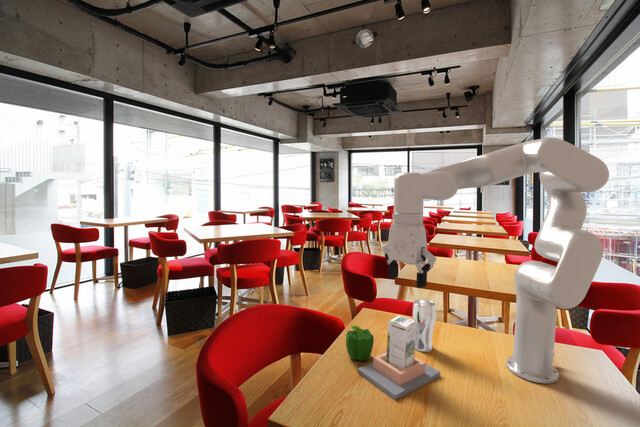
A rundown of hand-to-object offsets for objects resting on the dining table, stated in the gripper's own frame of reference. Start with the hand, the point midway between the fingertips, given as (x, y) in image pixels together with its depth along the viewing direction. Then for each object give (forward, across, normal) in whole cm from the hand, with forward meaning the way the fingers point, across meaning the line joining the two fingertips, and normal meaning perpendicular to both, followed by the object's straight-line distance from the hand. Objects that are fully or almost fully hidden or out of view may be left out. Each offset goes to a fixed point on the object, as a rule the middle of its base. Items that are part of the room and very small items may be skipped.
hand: (406, 282), depth 88 cm
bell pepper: (+27, -14, -4) cm, 30 cm away
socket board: (+26, -1, -1) cm, 26 cm away
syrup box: (+26, -1, -1) cm, 26 cm away
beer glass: (+27, -7, +17) cm, 33 cm away
